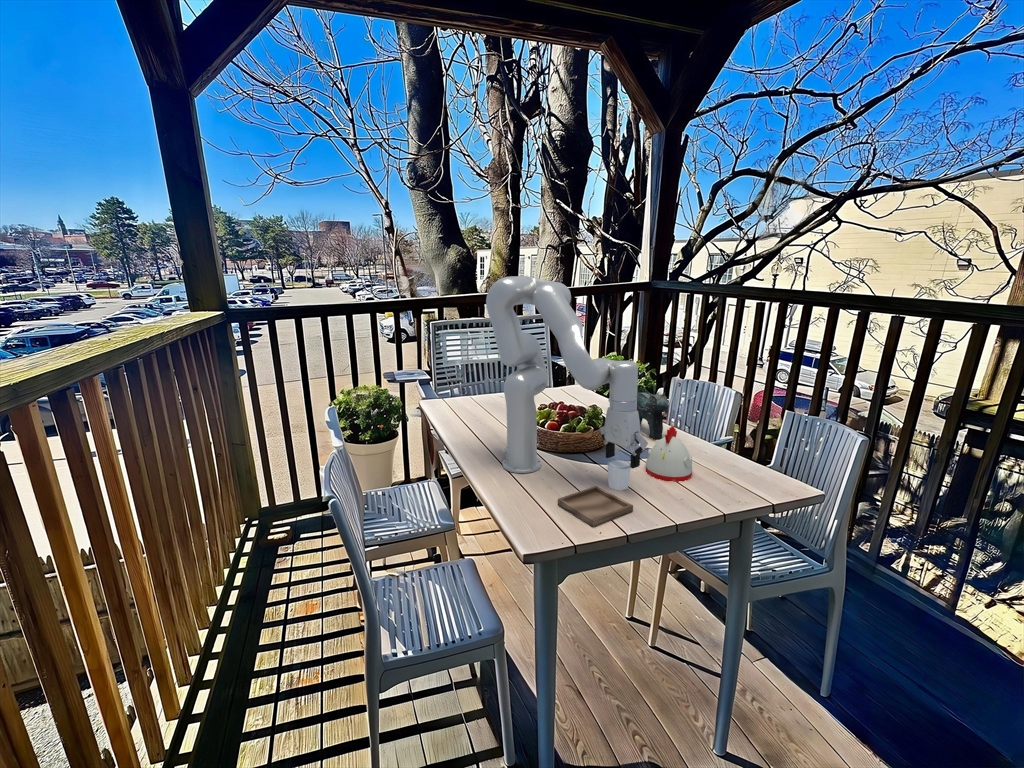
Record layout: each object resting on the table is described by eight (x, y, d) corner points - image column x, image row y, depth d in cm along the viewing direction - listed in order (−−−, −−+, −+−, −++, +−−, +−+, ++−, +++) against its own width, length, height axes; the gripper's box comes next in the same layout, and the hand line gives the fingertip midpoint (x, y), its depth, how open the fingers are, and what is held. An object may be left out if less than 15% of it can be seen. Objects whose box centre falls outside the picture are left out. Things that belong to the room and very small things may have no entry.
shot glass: (615, 493, 136) (616, 470, 134) (601, 483, 142) (602, 461, 140) (635, 488, 138) (636, 466, 137) (620, 479, 145) (621, 457, 143)
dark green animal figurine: (667, 440, 176) (671, 388, 171) (651, 442, 175) (654, 389, 170) (640, 424, 195) (643, 376, 190) (625, 425, 193) (628, 377, 189)
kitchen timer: (638, 474, 148) (641, 428, 145) (654, 460, 159) (657, 417, 155) (683, 486, 140) (687, 438, 136) (697, 470, 151) (702, 425, 147)
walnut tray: (557, 504, 129) (557, 498, 129) (595, 491, 137) (595, 485, 136) (593, 527, 118) (593, 521, 117) (632, 511, 125) (633, 505, 125)
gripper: (592, 401, 139) (591, 456, 143) (637, 414, 125) (636, 474, 129) (610, 396, 143) (610, 450, 147) (656, 409, 129) (654, 468, 133)
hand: (622, 461), depth 138 cm, fingers open, 9 cm apart
